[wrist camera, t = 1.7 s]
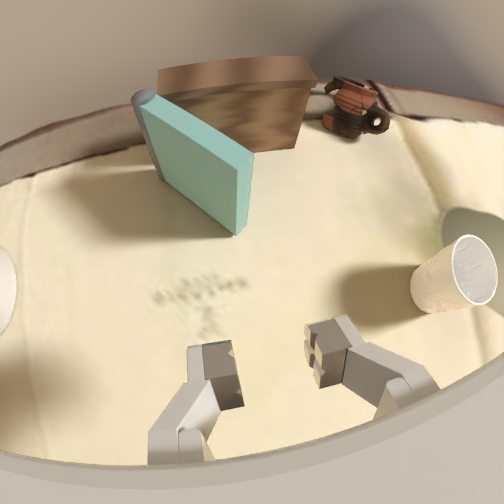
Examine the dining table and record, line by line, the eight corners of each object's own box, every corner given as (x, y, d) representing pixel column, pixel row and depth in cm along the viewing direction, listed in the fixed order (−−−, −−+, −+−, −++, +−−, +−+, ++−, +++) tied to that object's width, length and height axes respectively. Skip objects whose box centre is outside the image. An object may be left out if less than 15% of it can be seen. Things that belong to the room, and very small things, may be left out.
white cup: (395, 290, 35) (440, 270, 26) (423, 248, 37) (466, 221, 28) (432, 329, 34) (482, 320, 25) (457, 286, 36) (504, 267, 27)
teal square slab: (154, 174, 38) (126, 100, 25) (167, 162, 39) (145, 85, 25) (234, 237, 36) (235, 171, 23) (247, 222, 36) (255, 152, 23)
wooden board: (176, 166, 39) (157, 95, 26) (174, 140, 40) (157, 69, 28) (296, 149, 41) (317, 80, 28) (288, 125, 42) (304, 56, 30)
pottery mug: (302, 118, 44) (317, 70, 38) (332, 117, 49) (346, 76, 44) (369, 154, 39) (390, 102, 33) (390, 148, 44) (408, 105, 39)
